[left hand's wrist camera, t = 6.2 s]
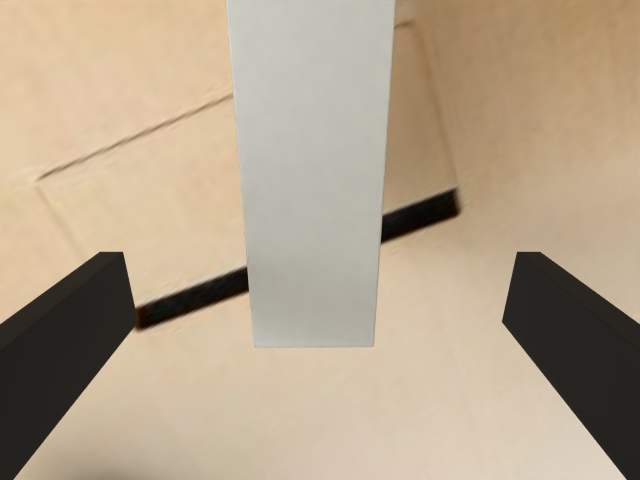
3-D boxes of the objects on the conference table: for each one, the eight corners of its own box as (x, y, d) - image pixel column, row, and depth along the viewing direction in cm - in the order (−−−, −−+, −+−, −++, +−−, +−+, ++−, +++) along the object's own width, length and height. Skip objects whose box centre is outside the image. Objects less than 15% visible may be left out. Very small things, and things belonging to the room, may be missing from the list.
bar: (355, 262, 23) (374, 347, 16) (274, 263, 23) (253, 348, 16) (373, -222, 15) (432, -552, 7) (250, -223, 15) (180, -555, 7)
